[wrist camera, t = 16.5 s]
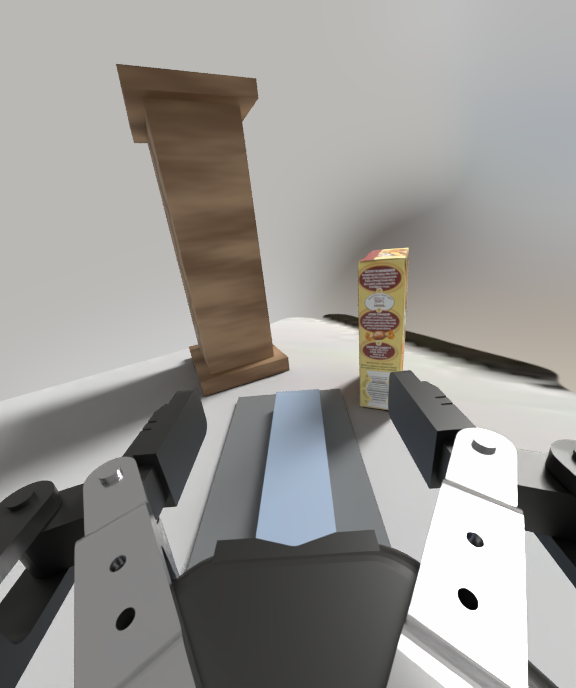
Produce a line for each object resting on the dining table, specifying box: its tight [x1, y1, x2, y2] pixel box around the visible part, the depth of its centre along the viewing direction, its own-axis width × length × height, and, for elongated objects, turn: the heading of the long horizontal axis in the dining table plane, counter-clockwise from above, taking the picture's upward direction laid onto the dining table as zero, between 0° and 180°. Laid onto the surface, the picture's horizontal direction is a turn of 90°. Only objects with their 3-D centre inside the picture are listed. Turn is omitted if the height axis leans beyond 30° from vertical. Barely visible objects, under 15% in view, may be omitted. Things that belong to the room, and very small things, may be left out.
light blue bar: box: [256, 389, 336, 546], centre depth 19 cm, size 22×4×2 cm, turn 178°
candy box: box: [358, 248, 409, 410], centre depth 29 cm, size 9×4×15 cm, turn 157°
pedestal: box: [116, 64, 289, 396], centre depth 36 cm, size 14×12×32 cm
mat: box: [187, 389, 391, 570], centre depth 21 cm, size 24×12×1 cm, turn 0°
